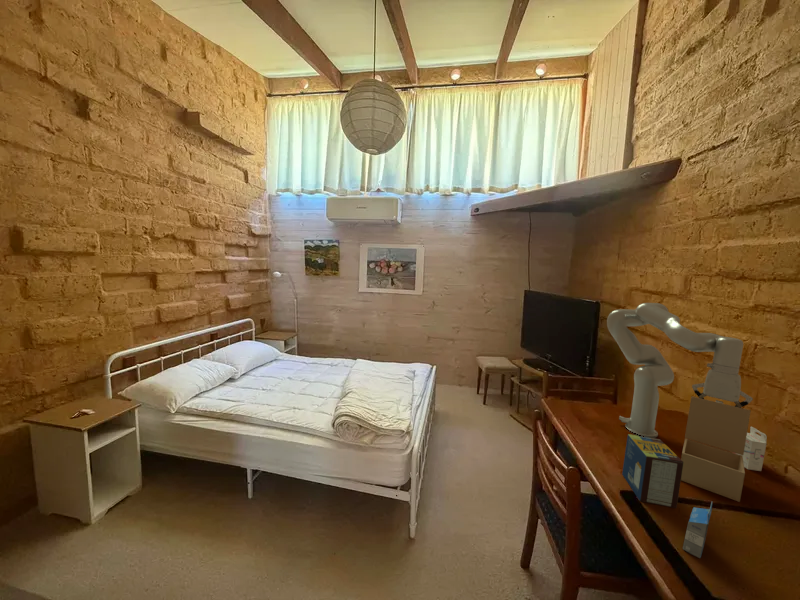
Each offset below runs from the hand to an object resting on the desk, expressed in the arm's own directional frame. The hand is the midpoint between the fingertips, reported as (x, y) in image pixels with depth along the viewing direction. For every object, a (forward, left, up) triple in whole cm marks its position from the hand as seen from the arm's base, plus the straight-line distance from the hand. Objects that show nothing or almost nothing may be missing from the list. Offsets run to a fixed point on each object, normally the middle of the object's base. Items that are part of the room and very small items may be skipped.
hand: (717, 412), depth 134 cm
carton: (0, -16, -21) cm, 27 cm away
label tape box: (-2, -61, -22) cm, 65 cm away
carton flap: (0, -7, -3) cm, 7 cm away
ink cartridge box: (+11, +12, -22) cm, 27 cm away
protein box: (-15, -41, -22) cm, 49 cm away
